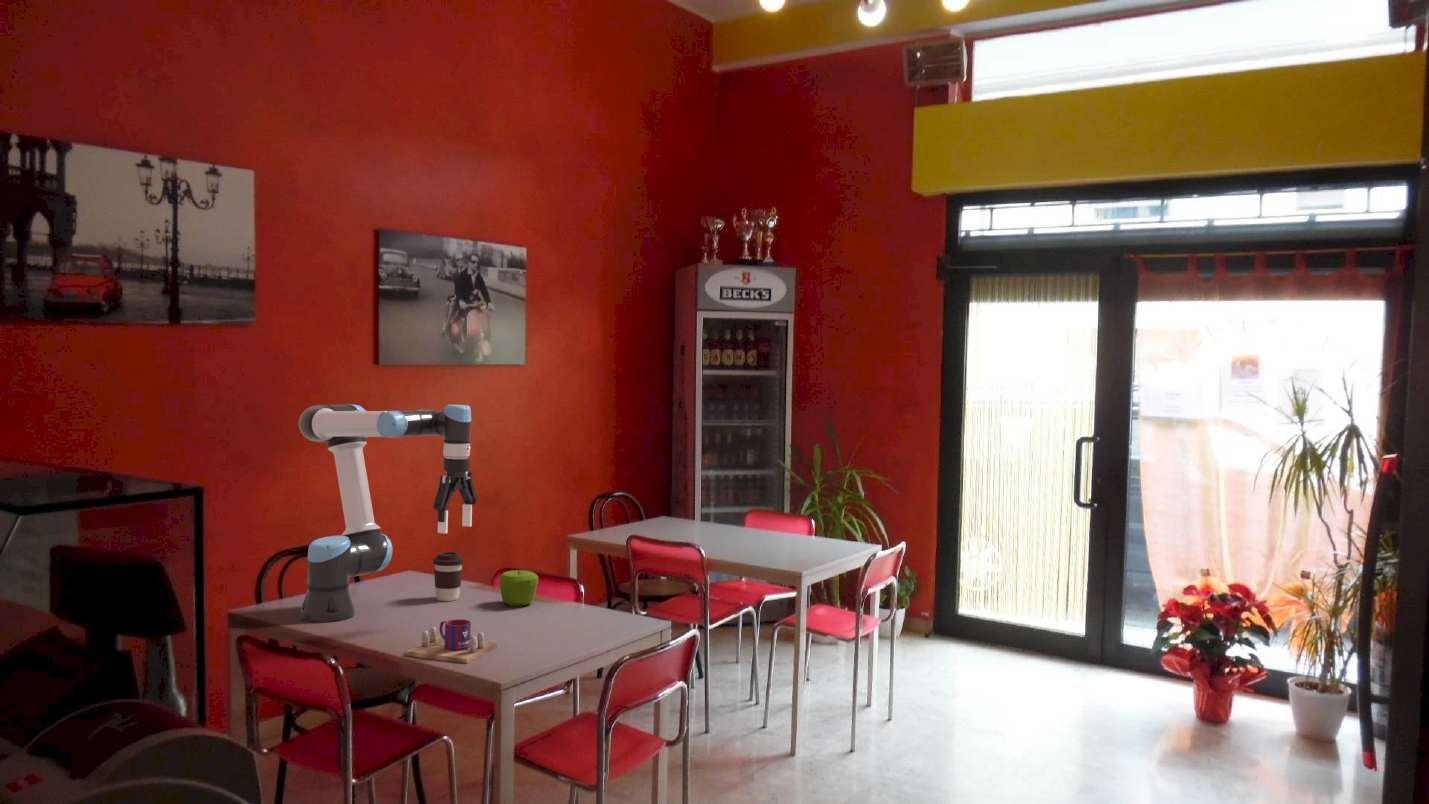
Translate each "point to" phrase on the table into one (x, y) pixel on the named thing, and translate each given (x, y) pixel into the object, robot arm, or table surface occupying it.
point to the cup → (456, 634)
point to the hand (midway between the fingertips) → (455, 529)
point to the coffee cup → (448, 575)
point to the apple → (518, 587)
